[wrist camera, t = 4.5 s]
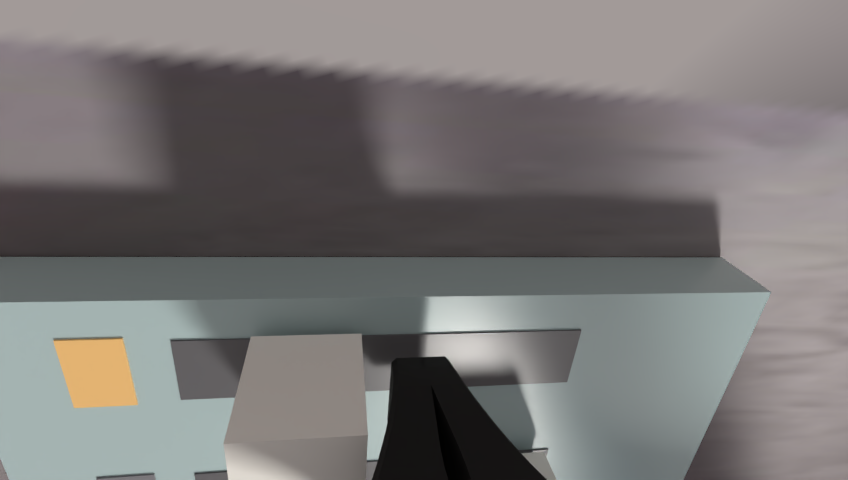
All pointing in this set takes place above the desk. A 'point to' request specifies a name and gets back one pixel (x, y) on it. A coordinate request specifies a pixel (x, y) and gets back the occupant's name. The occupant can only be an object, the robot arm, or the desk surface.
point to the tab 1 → (299, 410)
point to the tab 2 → (540, 464)
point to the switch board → (366, 353)
